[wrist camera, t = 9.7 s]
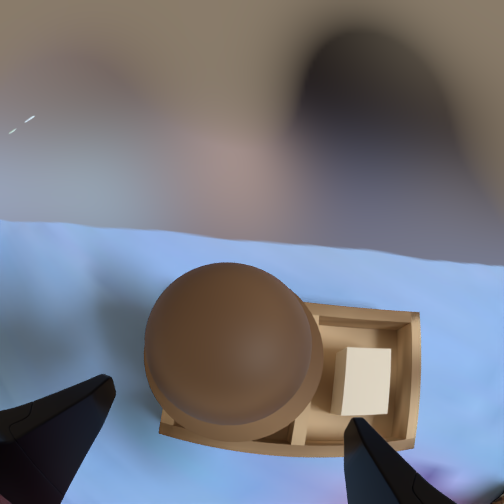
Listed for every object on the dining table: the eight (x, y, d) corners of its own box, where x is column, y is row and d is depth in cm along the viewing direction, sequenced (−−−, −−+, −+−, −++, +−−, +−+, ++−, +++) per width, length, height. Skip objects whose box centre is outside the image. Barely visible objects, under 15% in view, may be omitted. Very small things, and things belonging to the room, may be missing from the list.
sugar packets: (372, 412, 15) (387, 413, 13) (330, 413, 15) (341, 415, 13) (376, 355, 17) (391, 348, 15) (336, 353, 17) (347, 347, 15)
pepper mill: (245, 428, 15) (232, 526, 3) (187, 377, 17) (46, 319, 4) (296, 372, 17) (415, 303, 4) (239, 325, 19) (219, 166, 6)
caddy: (394, 444, 14) (413, 448, 12) (171, 428, 15) (158, 433, 13) (401, 323, 19) (419, 312, 17) (197, 300, 20) (189, 285, 18)
